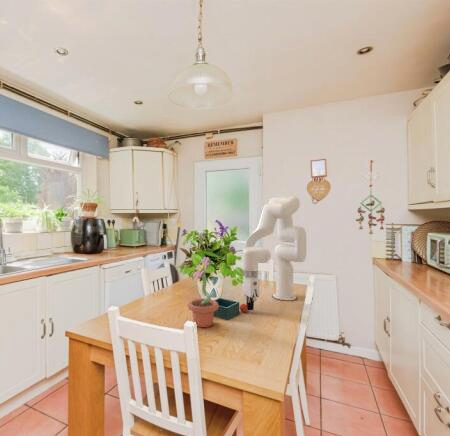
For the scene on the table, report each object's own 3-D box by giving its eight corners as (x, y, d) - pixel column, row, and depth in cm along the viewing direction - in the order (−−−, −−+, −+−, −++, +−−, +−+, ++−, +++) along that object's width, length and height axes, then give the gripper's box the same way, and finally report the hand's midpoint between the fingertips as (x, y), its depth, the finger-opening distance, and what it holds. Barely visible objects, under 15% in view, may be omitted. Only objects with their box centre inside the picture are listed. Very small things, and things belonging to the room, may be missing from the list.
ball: (242, 309, 142) (240, 302, 141) (249, 310, 139) (248, 302, 139) (239, 313, 139) (237, 305, 138) (246, 313, 136) (244, 306, 136)
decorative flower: (184, 318, 129) (184, 254, 129) (212, 316, 132) (212, 254, 132) (191, 331, 115) (191, 259, 114) (222, 329, 117) (223, 259, 117)
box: (219, 308, 144) (219, 297, 144) (239, 313, 137) (239, 302, 137) (206, 314, 135) (206, 302, 135) (227, 319, 128) (227, 308, 128)
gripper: (264, 276, 133) (264, 314, 133) (249, 270, 148) (249, 304, 148) (250, 277, 131) (250, 315, 131) (237, 271, 146) (236, 305, 146)
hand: (250, 309), depth 140 cm, fingers closed
